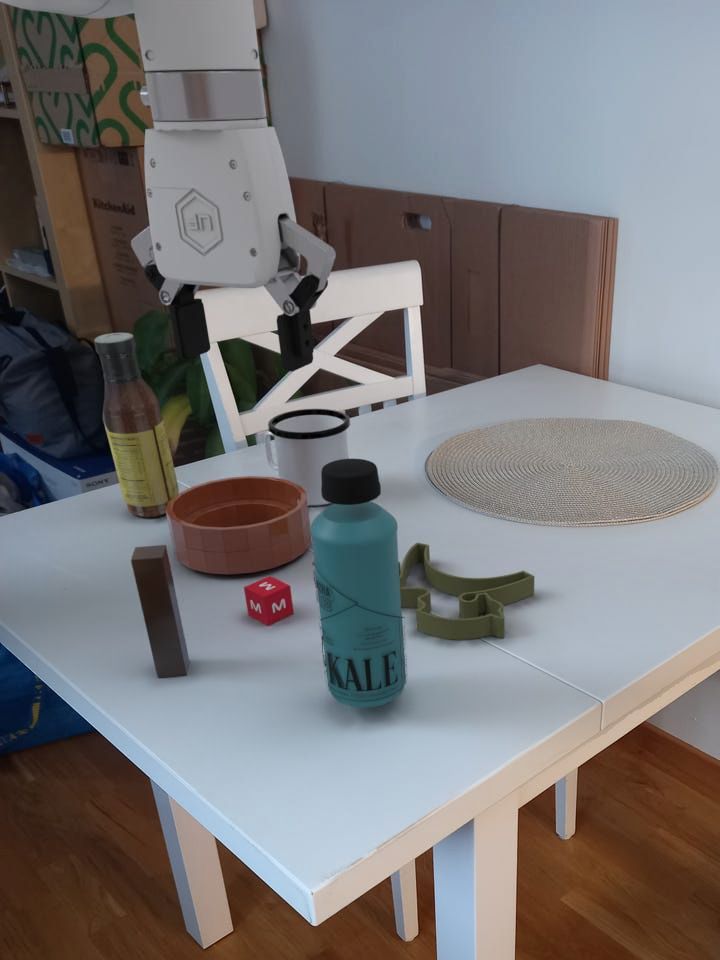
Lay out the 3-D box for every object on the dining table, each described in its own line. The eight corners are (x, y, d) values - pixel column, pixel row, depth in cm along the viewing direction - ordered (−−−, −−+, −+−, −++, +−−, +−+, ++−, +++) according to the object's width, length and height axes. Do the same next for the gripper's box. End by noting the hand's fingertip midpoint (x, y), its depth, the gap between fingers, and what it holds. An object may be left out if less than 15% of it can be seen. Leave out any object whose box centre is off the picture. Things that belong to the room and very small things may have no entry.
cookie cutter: (552, 597, 89) (553, 579, 88) (484, 653, 80) (484, 633, 79) (404, 553, 97) (403, 536, 96) (328, 599, 89) (326, 581, 88)
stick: (157, 678, 77) (130, 559, 72) (160, 663, 79) (134, 546, 74) (186, 675, 78) (162, 557, 72) (189, 660, 80) (165, 544, 74)
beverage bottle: (376, 670, 78) (357, 441, 68) (426, 702, 74) (415, 464, 63) (311, 701, 74) (281, 463, 64) (361, 737, 70) (337, 489, 60)
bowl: (168, 585, 92) (158, 534, 89) (182, 527, 104) (174, 481, 101) (313, 572, 94) (307, 523, 91) (310, 517, 106) (305, 471, 103)
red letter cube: (248, 615, 86) (243, 587, 85) (273, 603, 88) (269, 575, 87) (268, 625, 85) (263, 597, 83) (293, 613, 86) (290, 585, 85)
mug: (371, 488, 113) (366, 415, 108) (322, 515, 106) (314, 438, 101) (296, 470, 118) (288, 400, 114) (244, 495, 111) (233, 422, 107)
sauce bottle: (159, 495, 112) (124, 325, 101) (193, 506, 109) (161, 333, 98) (113, 513, 107) (72, 337, 97) (147, 525, 104) (108, 345, 94)
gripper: (69, 106, 62) (124, 362, 71) (283, 104, 56) (314, 385, 65) (146, 103, 68) (187, 340, 77) (347, 101, 62) (367, 359, 71)
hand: (245, 360), depth 71 cm, fingers open, 9 cm apart
